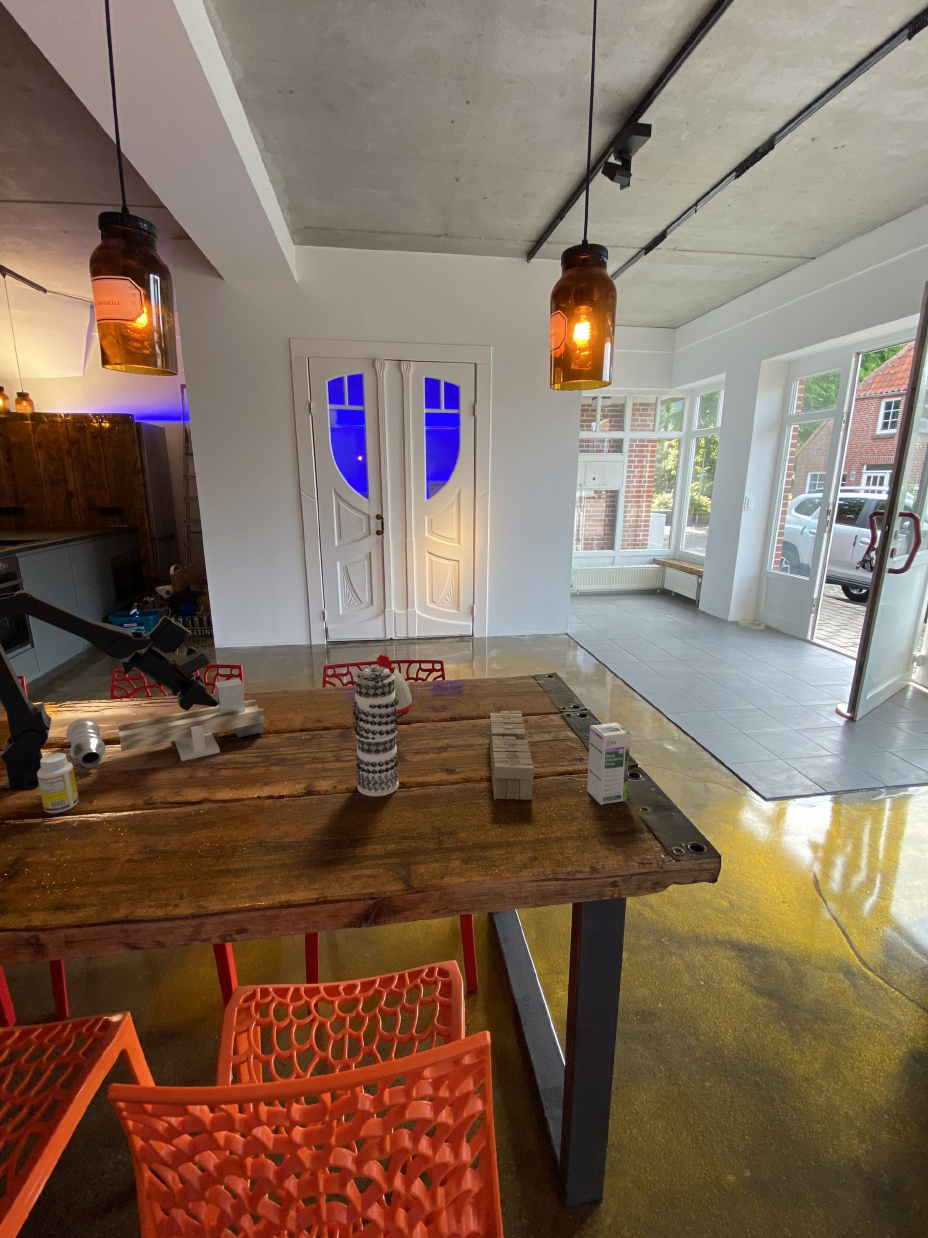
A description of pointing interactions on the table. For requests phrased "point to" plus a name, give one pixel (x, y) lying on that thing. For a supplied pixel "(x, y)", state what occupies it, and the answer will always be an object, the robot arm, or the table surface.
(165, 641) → the robot arm
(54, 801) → the supplement bottle
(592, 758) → the syrup box
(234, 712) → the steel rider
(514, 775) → the block tower
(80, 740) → the silver metal bottle
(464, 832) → the table surface
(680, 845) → the table surface
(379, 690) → the white patterned cylinder
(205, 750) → the beam stand
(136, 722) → the balance beam
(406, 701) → the kitchen timer
